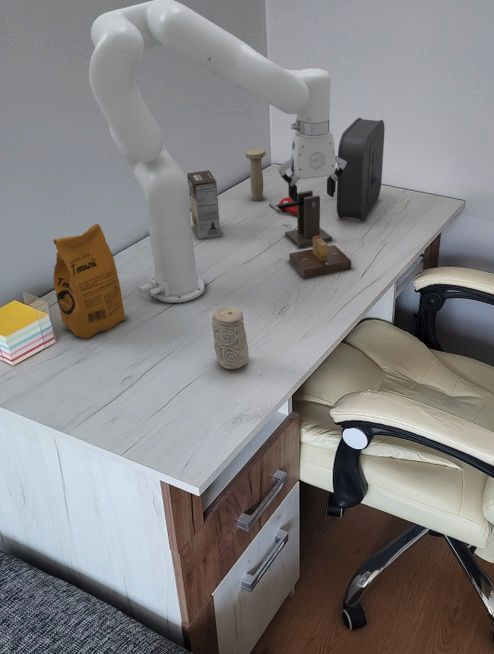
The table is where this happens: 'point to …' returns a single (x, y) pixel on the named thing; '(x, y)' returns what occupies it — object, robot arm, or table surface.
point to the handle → (256, 172)
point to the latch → (288, 204)
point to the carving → (230, 337)
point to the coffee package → (87, 284)
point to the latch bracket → (307, 222)
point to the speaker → (360, 168)
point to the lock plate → (319, 262)
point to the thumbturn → (320, 248)
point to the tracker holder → (290, 209)
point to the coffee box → (204, 204)
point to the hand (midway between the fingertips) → (312, 197)
